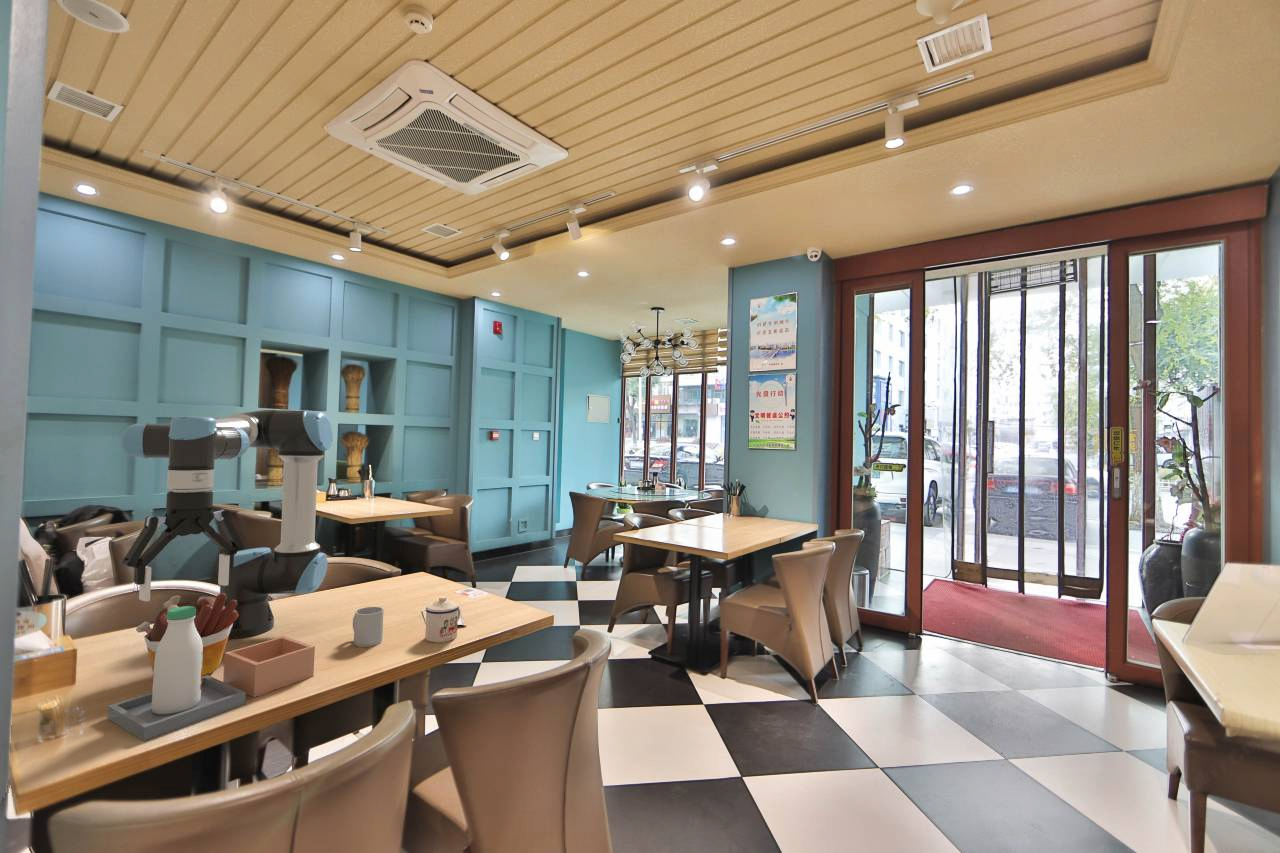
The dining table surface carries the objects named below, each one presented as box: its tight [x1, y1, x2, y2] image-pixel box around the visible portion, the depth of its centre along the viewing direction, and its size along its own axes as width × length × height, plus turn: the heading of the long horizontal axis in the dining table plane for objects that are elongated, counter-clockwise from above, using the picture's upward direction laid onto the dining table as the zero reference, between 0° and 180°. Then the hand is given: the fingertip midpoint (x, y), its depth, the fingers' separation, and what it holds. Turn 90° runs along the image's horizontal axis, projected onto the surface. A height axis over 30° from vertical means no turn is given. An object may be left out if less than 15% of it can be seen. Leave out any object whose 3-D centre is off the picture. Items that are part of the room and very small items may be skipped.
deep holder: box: [222, 635, 316, 698], centre depth 128 cm, size 13×13×7 cm
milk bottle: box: [152, 606, 203, 715], centre depth 113 cm, size 8×8×20 cm
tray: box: [107, 674, 247, 742], centre depth 113 cm, size 16×17×2 cm
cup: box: [352, 606, 384, 648], centre depth 154 cm, size 7×10×9 cm
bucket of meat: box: [135, 592, 239, 677], centre depth 130 cm, size 20×16×20 cm
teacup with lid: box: [424, 595, 462, 644], centre depth 160 cm, size 12×9×12 cm
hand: (185, 592), depth 114 cm, fingers open, 13 cm apart
